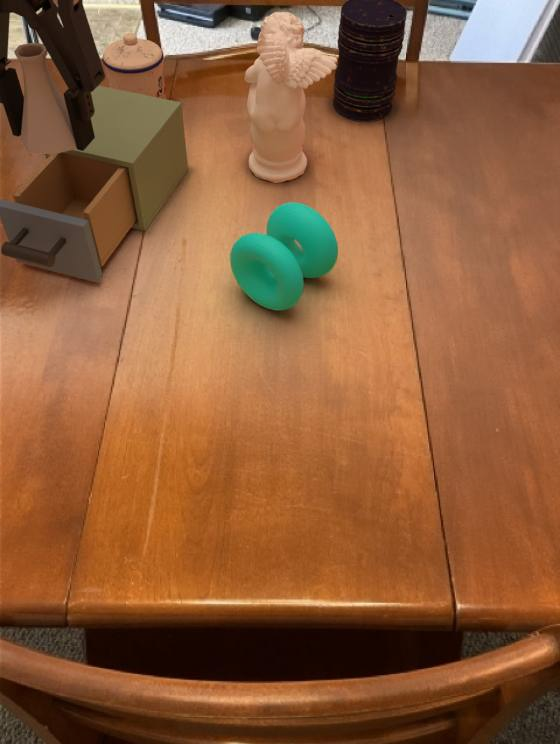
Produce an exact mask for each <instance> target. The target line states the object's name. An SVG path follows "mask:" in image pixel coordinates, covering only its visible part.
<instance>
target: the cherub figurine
mask: <svg viewBox="0 0 560 744" xmlns="http://www.w3.org/2000/svg"><path fill="white" fill-rule="evenodd" d="M263 19H264V20H263V21H262V22H261V24H260V32H259V34H258V39H257V43H256V45H257V47H256V53H257V54H258V55H259V56H258V58H256V59H255V60H254V63H253V64H252V65H251V66H250V67H248V68H247V69H246V70H245V74H244V82H246V83H249V89H248V95H247V102H246V110H247V115H248V117H249V119H250V125H249V135H250V140H251V143H252V145H253V148H252V152H251V153H250V155H249V157H248V168H249V169H250V171H251V172H252V174H253V175H254V176H255V177H256V178H258V179H260V180H261V179H262V180H263V181H268V182H270V183H275V184H277V183H278V184H280V183H285V182H286V181H293V180H294V179H297V178H299V176H302V175H304V174H305V170H306V168H307V165H308V158H307V155H306V154H305V153H304V151H303V147H302V146H303V144H304V140H305V137H306V124H305V119H304V115H305V113H306V112H305V111H306V108H307V107H306V106H307V100H306V93H305V89H308V88H309V86H312V85H314V82H315V83H318V82H320V81H321V79H325V78H326V77H327V76H328V75H331V74H332V71H334V70H335V71H336V69H337V67H338V64H337V63H338V58H337V56H332V55H328V53H325V52H323V51H322V50H319V49H317V48H314V47H304V46H305V45H304V35H305V33H306V29H305V25H304V23H303V21H301V19H298V17H297V16H296V15H294V14H293V13H292V12H289V11H275V12H273V13H271V14H270V15H268V16H265V17H264V18H263Z"/></svg>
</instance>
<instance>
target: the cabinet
mask: <svg viewBox="0 0 560 744" xmlns="http://www.w3.org/2000/svg"><path fill="white" fill-rule="evenodd" d="M91 95H92V100H93V106H94V109H95V112H94V115H93V116H92V117H91V122H92V126H93V131H94V135H95V138H94V140H93V141H92V142H91V143H90V144H89V145H88V146H87V147H86V148H85V150H84V151H81V150H77V149H73V150H69V151H65V152H62V153H67V154H71V155H75V156H80V157H84V158H89V159H93V160H98V161H102V162H106V163H111V164H115V165H120V166H124V167H128V169H129V174H130V180H131V185H132V191H133V196H134V201H135V207H136V212H137V220H136V221H135V222H134V224H133V225H132V227H131V228H130V229H132V230H137V231H142V232H146V231H147V229H148V227H149V226H150V225H151V224H152V222H153V221H154V219H155V218H156V216H157V215H158V214H159V213H160V211H161V209H162V208H163V207H164V205H165V204H166V202H167V201H168V199H169V198H170V197H171V195H172V194H173V192H174V191H175V189H176V188H177V187H178V185H179V184H180V182H181V181H182V180H183V178H184V177H185V175H186V174H187V172H188V171H189V164H188V154H187V153H188V152H187V145H186V134H185V125H184V115H183V104H182V102H181V101H176V100H172V99H168V98H167V99H162V98H157V97H152V96H147V95H142V94H137V93H132V92H127V91H122V90H117V89H112V88H109V86H108V87H107V86H102V85H98V86H97V87H96V89H95V90H94V91H92V92H91ZM44 156H45V160H46V159H47V158H48V157H49V156H50V154H44Z"/></svg>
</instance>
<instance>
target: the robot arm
mask: <svg viewBox="0 0 560 744" xmlns="http://www.w3.org/2000/svg"><path fill="white" fill-rule="evenodd" d="M39 11H40V12H39ZM37 12H38V13H37ZM11 14H15V15H18V16H20V17H23V19H24V20H25V22H26V23H27V26H28V27H29V28H30V29H31V30H34V31H35V33H36V34H37V36H38V37H39V40H40V42H41V44H43V45H44V46H45V48H46V50H47V54H48V55H49V57H50V59H51V61H52V62H53V64H54V65H55V67H56V69H57V71H58V72H59V75H60V76H61V78H62V79H63V82H64V83H65V85H66V87H67V90H66V91H64V92H63V94H62V95H63V97H64V99H65V103H66V107H67V111H68V115H69V119H70V123H71V127H72V131H73V135H74V139H75V143H76V147H77V150H81V151H84V150H85V148H86V147H87V146H88V145H89V144H90V143H91V142H92V141H93V140H94V138H95V135H94V131H93V126H92V122H91V117H92V116H93V115H94V112H95V109H94V106H93V100H92V95H91V92H92V91H94V90H95V89H96V87H97V86H100V85H101V84H102V83H103V81H105V80H106V73H105V71H104V68H103V67H104V66H103V64H102V60H101V58H100V54H99V52H98V48H97V44H96V42H95V39H94V35H93V33H92V29H91V26H90V23H89V20H88V16H87V13H86V10H85V7H84V1H83V0H0V104H2V105H3V109H4V112H5V115H6V118H7V121H8V124H9V128H10V130H11V133H12V135H13V136H14V137H18V138H19V137H21V129H22V118H23V106H24V91H23V89H22V86H21V83H20V79H19V77H18V73H17V69H16V68H14V67H8V68H7V69H6V67H7V66H8V65H9V64H10V63H11V62H12V60H10V58H8V56H9V40H10V39H9V37H10V18H11ZM58 15H59V16H58Z"/></svg>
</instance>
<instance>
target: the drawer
mask: <svg viewBox="0 0 560 744" xmlns="http://www.w3.org/2000/svg"><path fill="white" fill-rule="evenodd" d="M12 197H13V200H14V201H11V200H6V199H3V198H1V199H0V222H1V224H2V228H3V229H4V232H5V235H6V237H7V239H8V241H4V242H3V243H2V245H1V248H0V252H1V254H2V256H4V257H8V258H12V259H15V260H16V262H17V263H20V264H24V265H28V266H32V267H35V268H39V269H43V270H47V271H51V272H54V273H57V274H62V275H66V276H68V277H69V276H70V277H74V278H77V279H81V280H84V281H88V282H93V283H96V284H99V283H100V281H101V280H102V279H103V278H104V275H103V273H102V268H101V267H104V265H106V262H107V261H108V260H109V258H110V257H111V255H112V254H113V253H114V252H115V250H116V249H117V247H118V246H119V244H121V242H122V241H123V239H124V237H125V236H126V235H127V233H128V232H129V231H130V230H131V229H132V228H131V227H132V225H133V224H134V222H135V221H136V220H137V212H136V207H135V201H134V196H133V191H132V185H131V180H130V174H129V169H128V167H124V166H120V165H115V164H111V163H106V162H102V161H98V160H93V159H89V158H84V157H80V156H75V155H71V154H67V153H58V154H54V155H50V156H49V157H48V158H47V159H46V158H45V160H44V161H43V162H42V164H41V165H39V166H38V168H37V169H36V170H35V171H34V172H33V173H32V174H31V175H30V176H29V177H28V178H27V179H26V181H24V183H23V184H22V185H21V186H20V187H18V189H17V190H16V191H15V192H14V193H13V194H12Z"/></svg>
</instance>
